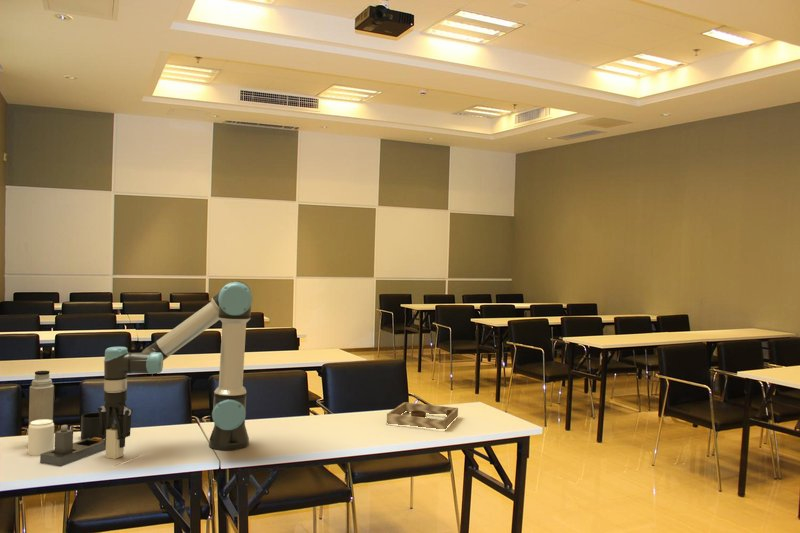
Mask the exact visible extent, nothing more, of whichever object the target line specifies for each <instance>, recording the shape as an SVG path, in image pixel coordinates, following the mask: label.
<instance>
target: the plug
mask: <svg viewBox="0 0 800 533" xmlns="http://www.w3.org/2000/svg"><path fill="white" fill-rule="evenodd" d="M117 438H119V437H118V431H117V424H116V422H114V423H112V428H110V429H107V430H106V450H105V459H112V460H116V459H118V458H120V457H116V446H117Z"/></svg>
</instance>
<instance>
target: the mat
mask: <svg viewBox="0 0 800 533" xmlns="http://www.w3.org/2000/svg"><path fill="white" fill-rule="evenodd" d="M137 457H138V458H139V455H137V456H134V457H132V458H129V459H127V460H126V462H127V461H130V460H133V459H134V458H135V459H136V458H137ZM122 463H124V461H122V462H121V463H118V464H115V465H114V466H115V467H116V466H117V465H120V464H122Z"/></svg>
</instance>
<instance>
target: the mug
mask: <svg viewBox="0 0 800 533" xmlns="http://www.w3.org/2000/svg"><path fill="white" fill-rule="evenodd" d="M80 420H81V422H80V439H81V440H84V439H87V438H94V437H97V438H102V439H103V440H105V437H104V436H103V435H100V429H99V411H98V412H89V413H88V412H87V413H85V414H84V413H83V414H82V415H81V418H80ZM113 423H115V422H113ZM103 431H104V430H103Z"/></svg>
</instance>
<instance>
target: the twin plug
mask: <svg viewBox="0 0 800 533" xmlns="http://www.w3.org/2000/svg"><path fill="white" fill-rule="evenodd" d="M73 443H74V430H73V429H72V430H71V429H68V424H63V425H61V426H60V429H59V430H57V431H54V449H55V450H54V453H56V454H62V455H64V454H67V453H70V452H73Z"/></svg>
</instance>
